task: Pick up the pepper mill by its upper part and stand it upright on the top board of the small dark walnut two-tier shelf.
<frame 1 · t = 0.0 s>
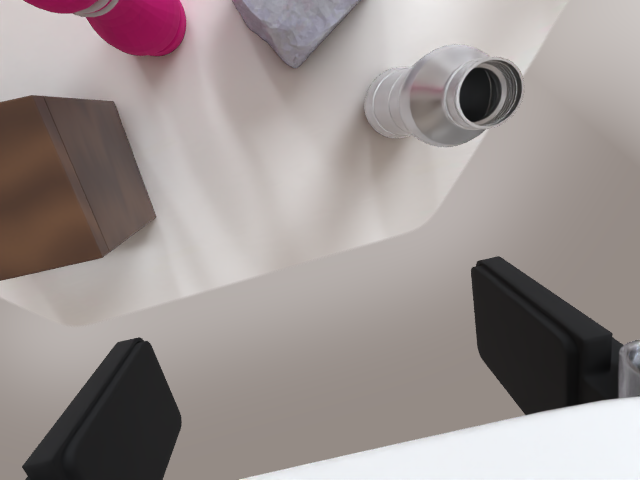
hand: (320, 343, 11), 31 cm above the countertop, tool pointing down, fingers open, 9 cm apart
pepper mill: (152, 19, 35), on the countertop
silver metal bottle: (392, 104, 39), on the countertop
shelf: (60, 179, 39), on the countertop
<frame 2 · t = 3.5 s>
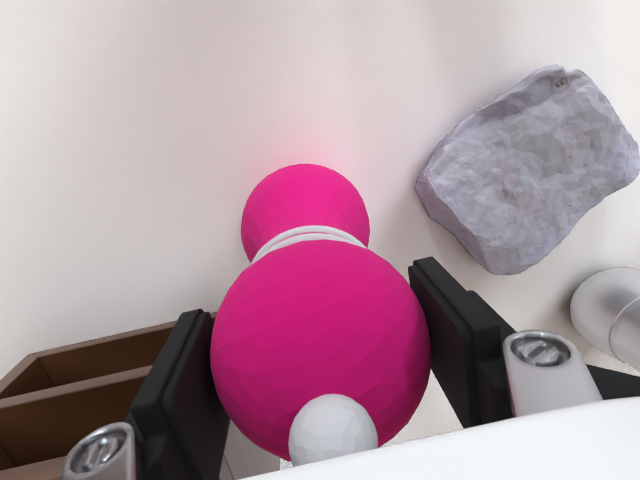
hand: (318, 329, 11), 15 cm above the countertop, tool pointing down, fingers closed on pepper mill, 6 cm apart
pepper mill: (303, 209, 26), on the countertop, touching gripper
silver metal bottle: (596, 295, 30), on the countertop
stone block: (502, 164, 26), on the countertop
shelf: (163, 394, 29), on the countertop
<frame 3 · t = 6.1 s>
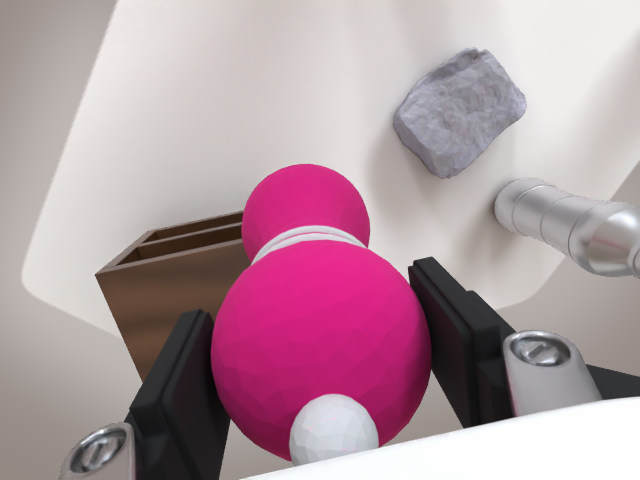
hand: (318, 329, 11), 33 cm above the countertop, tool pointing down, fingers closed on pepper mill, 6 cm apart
pepper mill: (303, 209, 26), point 17 cm above the countertop, touching gripper
silver metal bottle: (513, 201, 45), on the countertop
stone block: (448, 110, 41), on the countertop
shelf: (229, 263, 45), on the countertop
when the fingers open (27 cm above the countertop, at t = 8.9 s): pepper mill stays where it is, resting on shelf.
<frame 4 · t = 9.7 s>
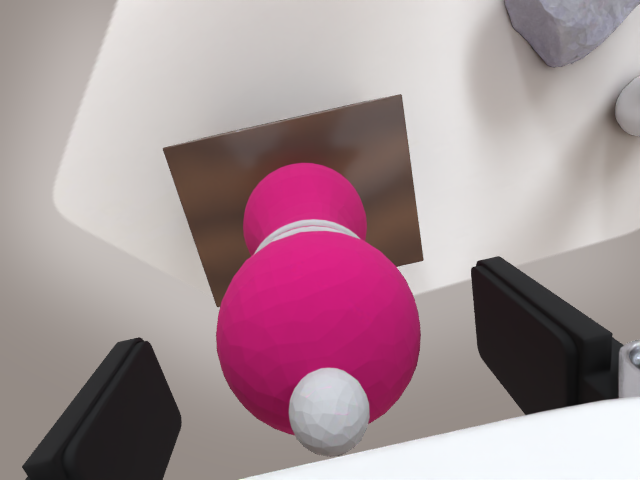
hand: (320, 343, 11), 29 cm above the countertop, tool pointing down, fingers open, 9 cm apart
pepper mill: (302, 207, 27), point 12 cm above the countertop, touching shelf
silver metal bottle: (634, 104, 38), on the countertop
shelf: (299, 180, 38), on the countertop
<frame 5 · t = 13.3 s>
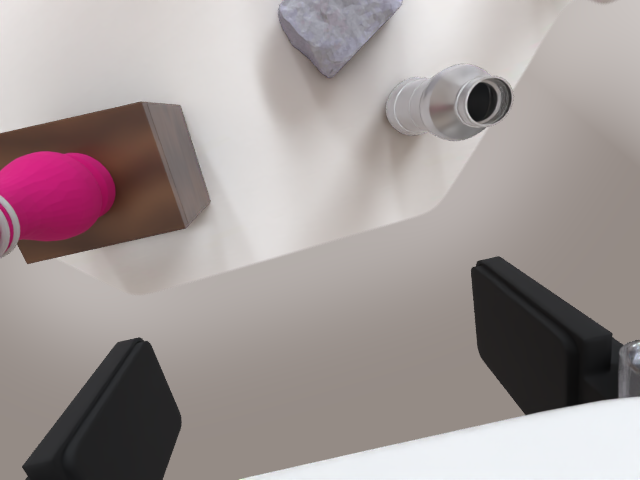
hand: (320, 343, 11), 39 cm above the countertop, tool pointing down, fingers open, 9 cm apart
pepper mill: (82, 186, 35), point 12 cm above the countertop, touching shelf
silver metal bottle: (408, 107, 47), on the countertop
stone block: (334, 11, 43), on the countertop
shelf: (133, 169, 47), on the countertop
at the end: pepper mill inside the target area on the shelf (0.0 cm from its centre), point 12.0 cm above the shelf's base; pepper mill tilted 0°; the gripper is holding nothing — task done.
